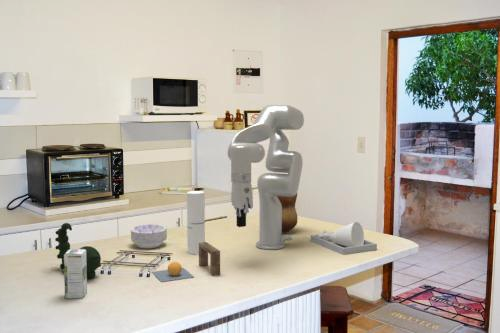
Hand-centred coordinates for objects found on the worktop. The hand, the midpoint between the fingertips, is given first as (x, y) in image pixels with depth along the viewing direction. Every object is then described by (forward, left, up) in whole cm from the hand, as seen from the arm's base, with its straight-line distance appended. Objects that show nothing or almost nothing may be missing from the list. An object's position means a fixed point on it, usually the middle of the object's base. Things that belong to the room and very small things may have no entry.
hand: (241, 226), depth 202 cm
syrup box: (+61, +7, -15) cm, 63 cm away
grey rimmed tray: (-52, -8, -15) cm, 55 cm away
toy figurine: (+57, -15, -15) cm, 61 cm away
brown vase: (-41, -41, -15) cm, 60 cm away
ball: (+27, +1, -13) cm, 29 cm away
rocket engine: (-52, -8, -15) cm, 55 cm away
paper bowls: (+24, -43, -15) cm, 52 cm away
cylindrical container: (+9, -25, -15) cm, 31 cm away
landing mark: (+27, 0, -15) cm, 31 cm away
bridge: (+13, 0, -15) cm, 20 cm away
